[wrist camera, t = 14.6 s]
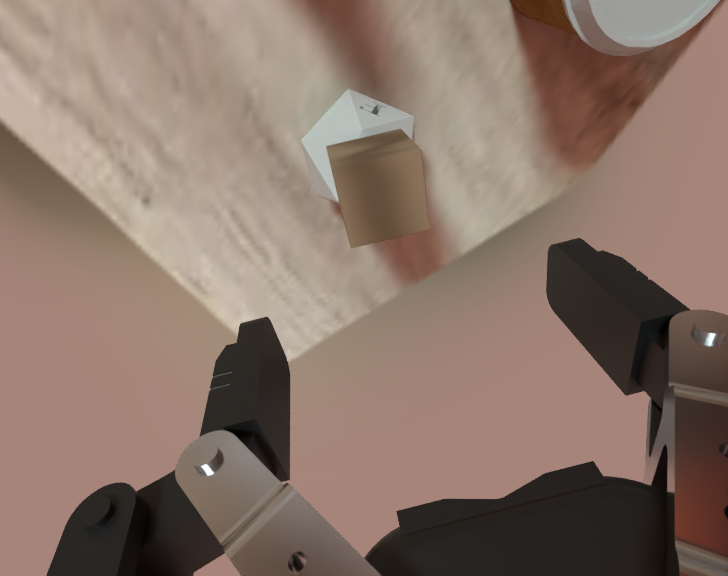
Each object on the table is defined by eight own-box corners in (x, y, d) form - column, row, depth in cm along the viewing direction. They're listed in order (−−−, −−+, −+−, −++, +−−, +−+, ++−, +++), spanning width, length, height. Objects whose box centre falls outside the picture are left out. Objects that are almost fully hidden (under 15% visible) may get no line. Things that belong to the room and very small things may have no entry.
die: (423, 151, 37) (446, 94, 28) (385, 241, 37) (395, 215, 27) (337, 115, 37) (330, 46, 28) (297, 204, 37) (276, 165, 27)
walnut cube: (400, 128, 28) (420, 149, 24) (410, 199, 31) (429, 229, 27) (325, 146, 28) (332, 170, 24) (342, 216, 31) (350, 248, 26)
